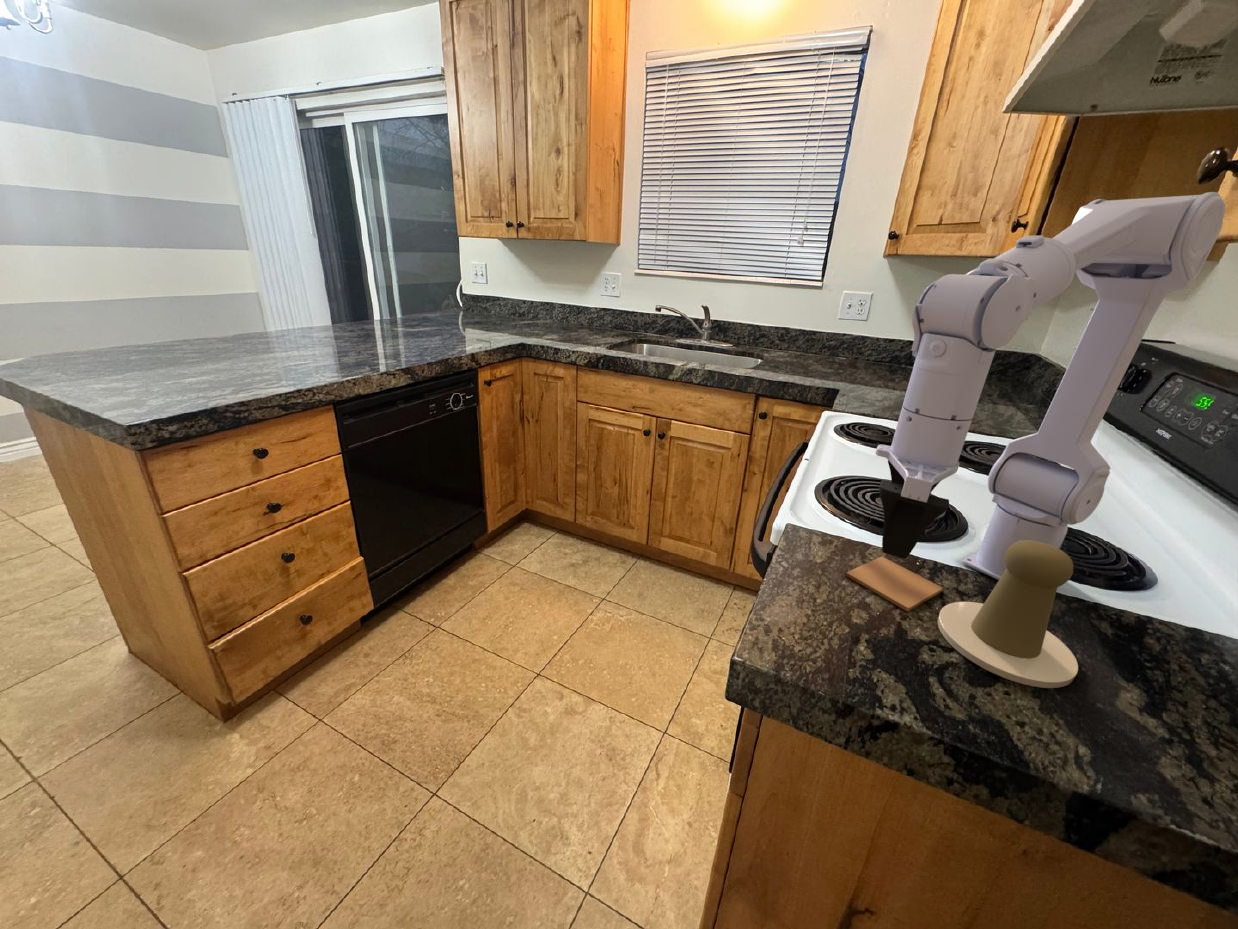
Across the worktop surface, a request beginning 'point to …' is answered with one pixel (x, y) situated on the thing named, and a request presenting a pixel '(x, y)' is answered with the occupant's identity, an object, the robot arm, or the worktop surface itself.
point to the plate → (1041, 671)
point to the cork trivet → (894, 583)
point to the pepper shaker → (1023, 599)
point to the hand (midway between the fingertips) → (897, 538)
